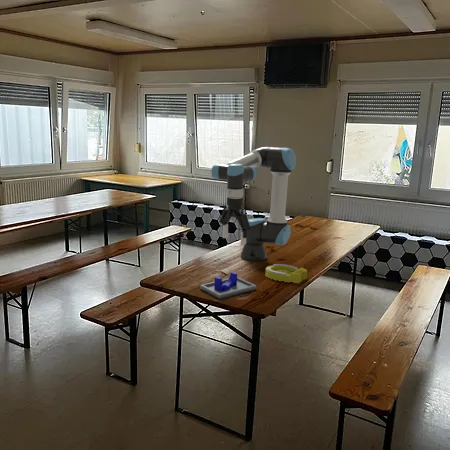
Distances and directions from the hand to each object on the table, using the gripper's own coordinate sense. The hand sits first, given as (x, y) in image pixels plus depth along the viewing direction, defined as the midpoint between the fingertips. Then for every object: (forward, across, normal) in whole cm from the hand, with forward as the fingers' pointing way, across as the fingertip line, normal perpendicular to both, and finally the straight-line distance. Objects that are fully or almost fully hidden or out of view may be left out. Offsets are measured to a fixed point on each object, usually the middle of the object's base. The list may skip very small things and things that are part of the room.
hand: (234, 241), depth 218 cm
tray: (+22, +5, -7) cm, 23 cm away
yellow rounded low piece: (+23, +7, +29) cm, 38 cm away
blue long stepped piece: (+21, +4, -8) cm, 23 cm away
